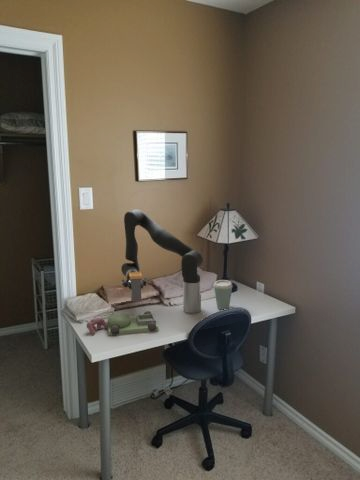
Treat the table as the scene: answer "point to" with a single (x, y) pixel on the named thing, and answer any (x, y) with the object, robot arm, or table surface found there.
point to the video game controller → (93, 322)
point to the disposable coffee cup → (223, 293)
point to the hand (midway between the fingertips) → (136, 287)
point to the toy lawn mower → (131, 323)
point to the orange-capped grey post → (135, 286)
